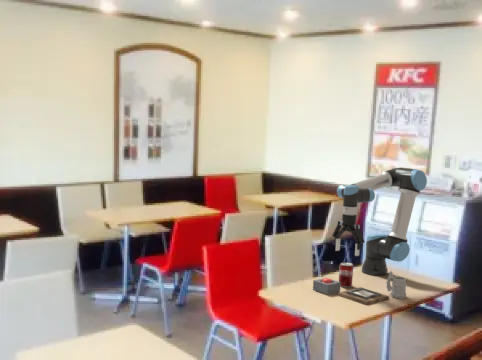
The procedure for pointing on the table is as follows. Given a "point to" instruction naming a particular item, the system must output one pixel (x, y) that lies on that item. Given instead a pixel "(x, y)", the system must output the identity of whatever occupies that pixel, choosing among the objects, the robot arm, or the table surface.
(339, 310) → the table surface
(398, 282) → the mug
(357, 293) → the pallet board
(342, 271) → the soda can
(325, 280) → the button
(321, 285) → the button housing
